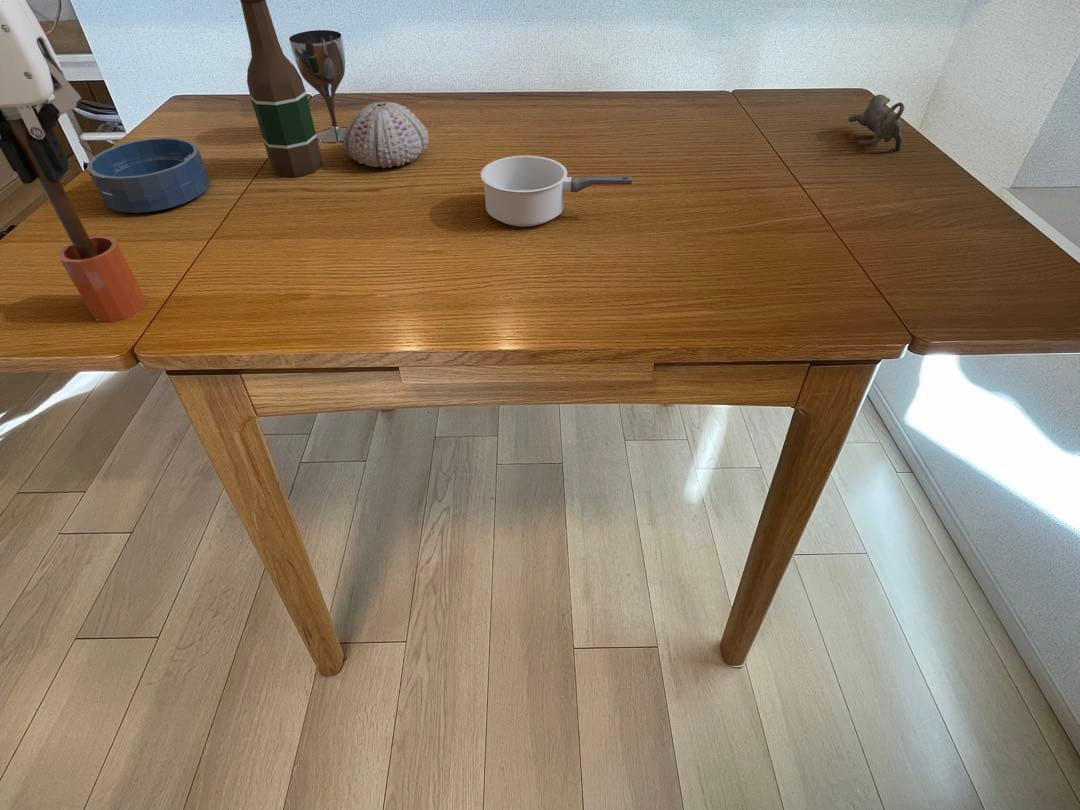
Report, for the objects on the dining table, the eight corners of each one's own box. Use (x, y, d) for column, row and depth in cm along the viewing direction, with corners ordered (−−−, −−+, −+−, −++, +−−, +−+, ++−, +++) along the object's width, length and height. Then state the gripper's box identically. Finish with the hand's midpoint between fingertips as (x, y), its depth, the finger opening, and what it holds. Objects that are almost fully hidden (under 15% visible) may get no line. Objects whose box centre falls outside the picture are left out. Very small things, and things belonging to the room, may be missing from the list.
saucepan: (626, 238, 84) (630, 198, 81) (475, 229, 86) (472, 189, 83) (630, 199, 93) (633, 160, 89) (492, 191, 95) (489, 153, 91)
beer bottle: (274, 159, 104) (223, -17, 88) (324, 155, 105) (283, -20, 89) (269, 180, 98) (213, -4, 82) (322, 175, 99) (277, -8, 83)
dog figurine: (905, 155, 103) (923, 105, 98) (868, 155, 103) (885, 106, 98) (877, 127, 112) (893, 80, 107) (843, 127, 112) (857, 80, 107)
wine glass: (304, 141, 109) (279, 42, 99) (326, 124, 115) (304, 28, 105) (347, 145, 108) (326, 45, 98) (368, 127, 114) (350, 31, 103)
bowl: (91, 220, 89) (71, 181, 86) (123, 177, 100) (107, 140, 96) (199, 212, 91) (184, 174, 87) (220, 170, 101) (207, 134, 97)
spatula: (97, 307, 72) (-7, 121, 58) (101, 299, 73) (1, 114, 59) (126, 305, 72) (29, 119, 58) (130, 297, 73) (36, 113, 60)
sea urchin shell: (372, 181, 98) (362, 127, 92) (331, 154, 105) (320, 102, 100) (447, 158, 104) (441, 105, 98) (403, 134, 111) (395, 84, 106)
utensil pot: (88, 328, 71) (49, 264, 66) (104, 300, 75) (70, 237, 70) (140, 324, 72) (106, 259, 66) (154, 296, 76) (123, 233, 70)
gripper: (-225, -44, 47) (-62, 200, 59) (12, -50, 48) (121, 188, 61) (-160, -61, 52) (-23, 166, 65) (52, -65, 54) (144, 156, 66)
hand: (46, 175), depth 63 cm, fingers closed on spatula, 1 cm apart
